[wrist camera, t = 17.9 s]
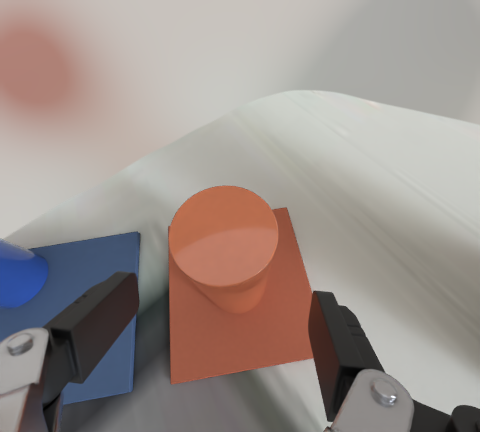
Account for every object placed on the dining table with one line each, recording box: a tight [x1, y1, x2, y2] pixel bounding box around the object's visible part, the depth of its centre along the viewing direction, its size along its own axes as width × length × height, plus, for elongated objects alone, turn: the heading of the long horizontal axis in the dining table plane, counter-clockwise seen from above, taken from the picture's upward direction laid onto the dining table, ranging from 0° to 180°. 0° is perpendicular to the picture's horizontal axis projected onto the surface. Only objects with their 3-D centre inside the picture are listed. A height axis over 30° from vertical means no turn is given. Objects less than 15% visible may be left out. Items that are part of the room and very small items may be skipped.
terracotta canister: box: [169, 186, 278, 314], centre depth 15 cm, size 5×5×11 cm
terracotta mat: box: [168, 207, 314, 384], centre depth 21 cm, size 12×13×1 cm
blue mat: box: [0, 232, 140, 405], centre depth 20 cm, size 13×13×1 cm
